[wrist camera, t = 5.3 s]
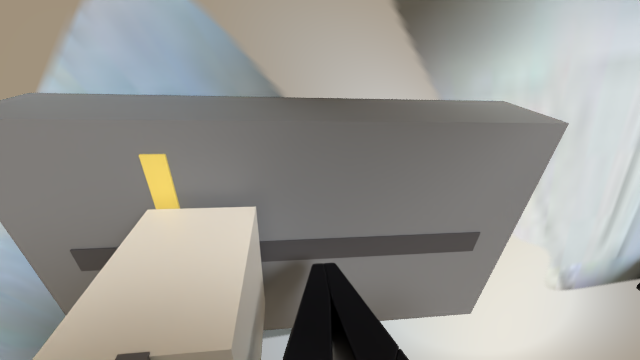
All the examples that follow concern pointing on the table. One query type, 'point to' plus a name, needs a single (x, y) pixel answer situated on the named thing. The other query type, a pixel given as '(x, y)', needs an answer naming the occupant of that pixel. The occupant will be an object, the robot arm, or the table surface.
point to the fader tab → (172, 293)
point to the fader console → (279, 187)
